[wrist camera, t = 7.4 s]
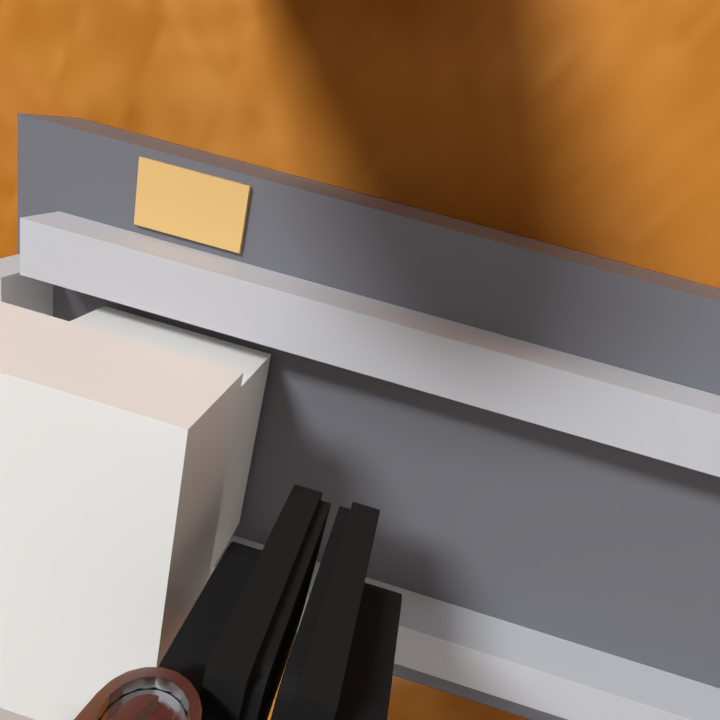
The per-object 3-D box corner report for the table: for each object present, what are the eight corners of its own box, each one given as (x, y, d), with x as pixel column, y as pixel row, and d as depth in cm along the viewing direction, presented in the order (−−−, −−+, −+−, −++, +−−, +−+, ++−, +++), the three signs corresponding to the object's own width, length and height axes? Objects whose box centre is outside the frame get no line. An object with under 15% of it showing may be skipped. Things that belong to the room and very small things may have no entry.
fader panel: (1222, 422, 12) (1519, 530, 8) (886, 774, 16) (995, 933, 13) (77, 117, 14) (-47, 108, 10) (63, 511, 18) (-26, 592, 15)
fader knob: (296, 317, 12) (188, 429, 7) (247, 558, 15) (143, 757, 10) (89, 259, 12) (-145, 329, 8) (78, 504, 15) (-102, 672, 10)
